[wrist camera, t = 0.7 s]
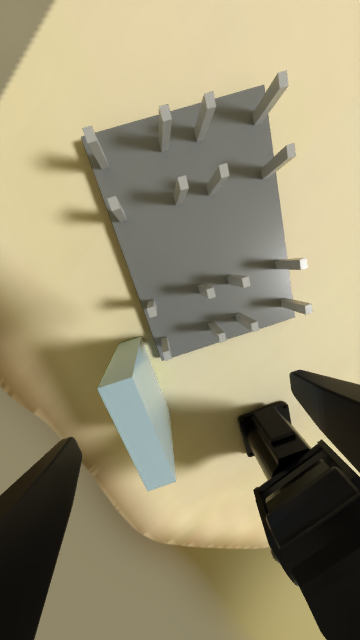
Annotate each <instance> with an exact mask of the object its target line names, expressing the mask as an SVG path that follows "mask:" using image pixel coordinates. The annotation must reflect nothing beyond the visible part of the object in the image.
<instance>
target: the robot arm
mask: <svg viewBox="0 0 360 640" xmlns="http://www.w3.org/2000/svg"><path fill="white" fill-rule="evenodd" d="M290 383H291V390H292V393H293V395H294V396H295V398H296V399H297V400H298V401H299V403H300V404H301V405H302V407H303V408H304V409H305V411H306V412H307V413H308V415H309V416H310V417H311V418H312V420H313V421H314V422H315V424H316V425H317V426H318V427H319V429H320V430H321V431H322V432H323V433H324V434H325V436H326V437H327V438H328V439H329V440H330V441H331V442H332V443H333V444H334V445H335V446H336V448H337V449H338V450H339V451H340V452H341V453H342V454H343V455H344V456H345V457H346V458H347V460H348V461H349V462H350V463H351V464H352V465H353V466H354V467H355V468H356V469H357V470H358V472H359V473H360V385H359V384H355V383H351V382H347V381H343V380H339V379H335V378H331V377H327V376H323V375H319V374H315V373H311V372H308V371H304V370H297V371H293V372H291V373H290ZM241 420H242V421H241ZM238 424H239V427H240V431H241V435H242V439H243V443H244V446H245V450H246V453H247V455H248V457H252V456H255V457H256V459H257V461H258V463H259V465H260V466H261V468H262V470H263V472H264V474H265V476H266V478H267V480H268V481H267V482H265V483H264V484H262V485H261V486H260V487H256V488H255V489H254V490H253V491H254V494H255V498H256V503H257V507H258V510H259V513H260V517H261V520H262V523H263V527H264V530H265V533H266V537H267V540H268V543H269V546H270V548H271V553H272V555H273V557H274V559H275V560H276V561H277V562H279V563H280V564H281V565H282V567H283V569H284V571H285V572H286V574H287V575H288V577H289V578H290V579H291V580H292V582H293V583H295V585H297V586H299V587H300V589H301V591H302V593H303V595H304V597H305V599H306V601H307V603H308V605H309V608H310V610H311V612H312V614H313V616H314V618H315V620H316V622H317V625H318V627H319V629H320V631H321V632H322V634H323V636H324V637H325V638H326V639H327V640H360V477H359V476H358V475H357V474H356V473H355V472H354V471H353V470H352V469H351V468H350V467H349V466H348V465H347V464H346V463H345V462H344V461H343V460H342V459H341V458H340V457H339V456H338V455H337V454H336V453H335V452H334V451H333V450H332V449H331V448H330V447H329V446H328V445H327V444H326V443H325V442H324V441H323V440H322V439H321V440H320V441H319V442H317V443H318V444H317V445H315V446H314V447H313V448H311V447H310V446H309V445H308V444H307V442H306V441H305V440H304V439H303V438H302V437H301V435H300V434H299V433H298V432H297V431H296V430H295V428H294V427H293V426H292V425H291V419H290V413H289V407H288V404H287V403H286V402H280V403H277V404H274V405H271V406H268V407H265V408H262V409H259V410H257V411H254V412H251V413H248V414H245V415H242V416H240V417H238ZM81 461H82V452H81V450H80V448H79V446H78V444H77V442H76V440H75V438H73V437H69V438H66V439H62V440H61V441H60V442H59V443H57V444H56V445H55V446H54V447H53V448H52V449H51V450H50V451H49V452H48V453H46V454H45V455H44V456H43V457H42V458H41V459H40V460H39V461H38V462H37V463H35V464H34V465H33V466H32V467H31V468H30V469H29V470H28V471H27V472H26V473H24V474H23V475H22V476H21V477H20V478H19V479H18V480H17V481H16V482H15V483H14V484H12V485H11V486H10V487H9V488H8V489H7V490H6V491H5V492H4V493H3V494H1V495H0V640H34V638H35V635H36V631H37V627H38V624H39V621H40V617H41V614H42V610H43V607H44V603H45V600H46V596H47V593H48V589H49V586H50V583H51V579H52V576H53V572H54V569H55V565H56V562H57V558H58V555H59V551H60V548H61V544H62V541H63V537H64V534H65V530H66V527H67V523H68V520H69V516H70V512H71V509H72V505H73V501H74V496H75V491H76V486H77V481H78V476H79V471H80V466H81Z"/></svg>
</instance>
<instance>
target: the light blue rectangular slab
mask: <svg viewBox="0 0 360 640" xmlns="http://www.w3.org/2000/svg"><path fill="white" fill-rule="evenodd" d="M97 390H98V392H99V394H100V396H101V398H102V400H103V402H104V404H105V406H106V408H107V410H108V412H109V414H110V416H111V418H112V420H113V422H114V424H115V426H116V428H117V430H118V432H119V434H120V436H121V438H122V440H123V442H124V444H125V446H126V448H127V451H128V453H129V455H130V457H131V459H132V461H133V463H134V465H135V467H136V469H137V471H138V473H139V475H140V477H141V479H142V481H143V483H144V485H145V487H146V489H147V491H150V490H153V489H156V488H159V487H162V486H164V485H167V484H170V483H173V482H176V473H175V463H174V452H173V441H172V431H171V420H170V411H169V409H168V406H167V403H166V401H165V398H164V395H163V393H162V390H161V388H160V385H159V382H158V380H157V377H156V375H155V372H154V369H153V367H152V364H151V361H150V359H149V356H148V354H147V351H146V348H145V346H144V343H143V340H142V338H141V337H138V338H135V339H132V340H129V341H125V342H122V343H119V345H118V347H117V349H116V351H115V353H114V355H113V357H112V359H111V361H110V363H109V365H108V367H107V369H106V371H105V373H104V375H103V377H102V379H101V382H100V384H99V386H98V388H97Z"/></svg>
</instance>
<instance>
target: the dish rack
mask: <svg viewBox="0 0 360 640" xmlns="http://www.w3.org/2000/svg"><path fill="white" fill-rule="evenodd" d="M287 87H288V78H287V70H286V71H283V72H279V73H278V74H277V75H276V77H275V78H274V80H273V82H272V83H271V85H270V86H269V88H268V90H267V91H266V93H265V87H264V85H261V86H258V87H254V88H251V89H247V90H244V91H240V92H237V93H233V94H230V95H226V96H223V97H219V98H216V99H215V98H214V93H213V91H212V92H208V93H205V94H204V96H203V100H202V103H198V104H195V105H191V106H188V107H184V108H181V109H177V110H174V111H170V109H169V105H168V104H166V105H163V106H159V115H156V116H153V117H149V118H145V119H142V120H138V121H135V122H131V123H128V124H124V125H121V126H117V127H114V128H110V129H107V130H103V131H100V132H96V133H95V132H94V130H93V128H92V126H88V127H85V128H82V129H83V132H84V135H85V136H82V137H81V139H82V141H83V144H84V147H85V150H86V152H87V155H88V158H89V161H90V163H91V166H92V169H93V172H94V175H95V177H96V180H97V183H98V186H99V188H100V191H101V194H102V197H103V199H104V202H105V205H106V208H107V210H108V213H109V216H110V219H111V221H112V224H113V227H114V230H115V233H116V235H117V238H118V241H119V244H120V246H121V249H122V252H123V255H124V257H125V260H126V263H127V266H128V268H129V271H130V274H131V277H132V279H133V282H134V285H135V288H136V291H137V293H138V296H139V299H140V302H141V304H142V307H143V310H144V313H145V315H146V318H147V321H148V324H149V326H150V329H151V332H152V335H153V337H154V340H155V343H156V346H157V348H158V351H159V354H160V357H161V360H162V361H163V360H165V361H166V360H169V359H172V357H175V356H178V355H181V354H185V353H188V352H191V351H194V350H197V349H200V348H203V347H206V346H209V345H212V344H215V343H218V342H220V343H221V342H224V341H227V339H230V338H233V337H236V336H239V335H242V334H245V333H248V332H255V331H258V330H259V329H261V328H264V327H267V326H270V325H273V324H276V323H279V322H282V321H285V320H288V319H291V318H294V317H295V313H294V311H296V312H299V313H303V314H309V313H312V304H309V303H305V302H301V301H297V300H293V298H292V290H291V283H290V275H289V270H301V269H305V268H308V267H307V258H295V259H287V253H286V245H285V238H284V230H283V222H282V215H281V207H280V200H279V192H278V185H277V177H276V171H278V170H279V169H280V168H281V167H283V166H284V165H285V164H286V163H288V162H289V161H290V160H291V159H293V158H294V157H295V156H296V153H295V144H294V143H292V144H289V145H286V146H285V147H284V148H283V149H282V150H281V151H280V152H279V153H278V154H277V155H276V156H274V155H273V147H272V140H271V132H270V125H269V117H268V113H269V112H270V110H271V109H272V108H273V106H274V105H275V104H276V102H277V101H278V99H279V98H280V97H281V95H282V94H283V93H284V91H285V90H286V88H287Z"/></svg>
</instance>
